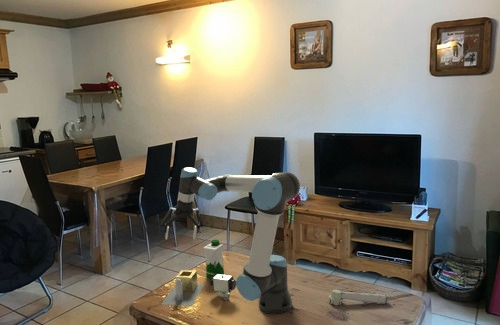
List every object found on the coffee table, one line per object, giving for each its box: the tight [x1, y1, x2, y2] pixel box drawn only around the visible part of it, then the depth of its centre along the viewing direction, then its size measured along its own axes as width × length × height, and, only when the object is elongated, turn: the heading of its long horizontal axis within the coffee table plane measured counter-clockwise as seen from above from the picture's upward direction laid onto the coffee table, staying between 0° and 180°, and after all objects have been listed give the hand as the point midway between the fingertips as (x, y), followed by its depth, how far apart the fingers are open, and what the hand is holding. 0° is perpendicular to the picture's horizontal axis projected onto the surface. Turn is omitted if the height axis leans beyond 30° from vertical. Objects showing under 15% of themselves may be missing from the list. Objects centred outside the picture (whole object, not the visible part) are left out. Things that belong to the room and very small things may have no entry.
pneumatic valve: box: [209, 273, 237, 301], centre depth 191 cm, size 6×12×12 cm, turn 68°
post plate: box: [160, 278, 206, 307], centre depth 194 cm, size 15×22×12 cm
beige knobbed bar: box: [328, 289, 388, 307], centre depth 181 cm, size 5×7×25 cm
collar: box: [175, 269, 199, 293], centre depth 199 cm, size 8×8×8 cm
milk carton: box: [202, 239, 225, 279], centre depth 212 cm, size 9×9×20 cm
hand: (180, 238), depth 197 cm, fingers open, 13 cm apart
